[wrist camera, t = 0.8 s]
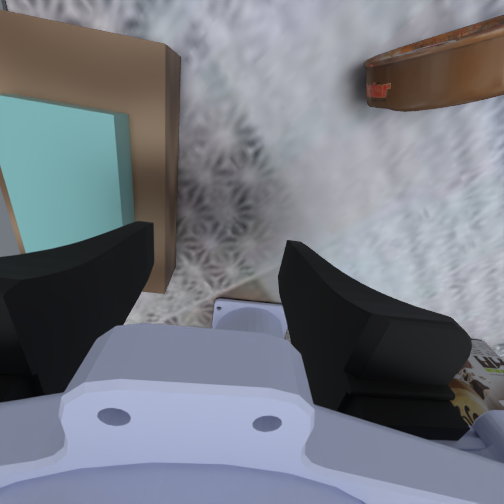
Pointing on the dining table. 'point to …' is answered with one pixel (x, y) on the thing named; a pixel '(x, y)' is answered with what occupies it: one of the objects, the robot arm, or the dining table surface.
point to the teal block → (65, 170)
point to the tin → (440, 70)
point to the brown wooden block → (107, 108)
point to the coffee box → (479, 383)
